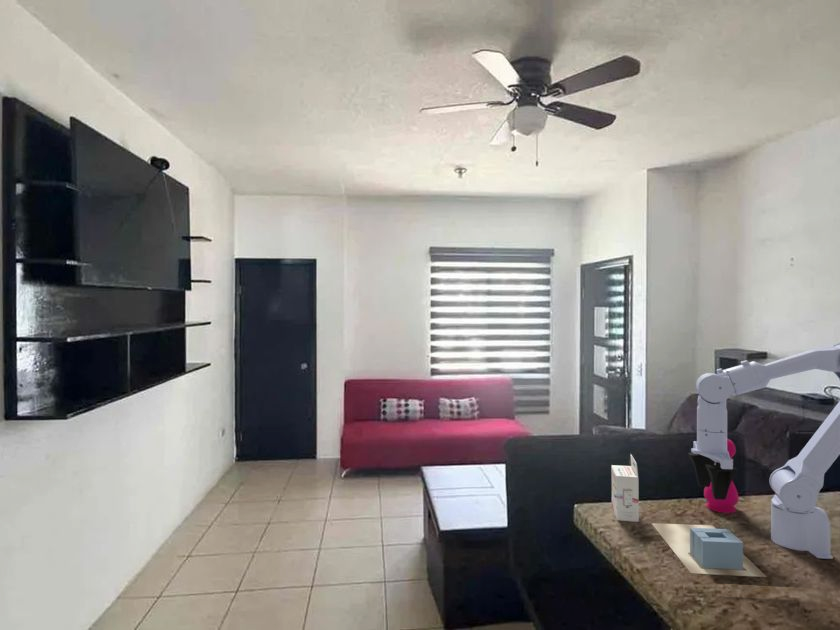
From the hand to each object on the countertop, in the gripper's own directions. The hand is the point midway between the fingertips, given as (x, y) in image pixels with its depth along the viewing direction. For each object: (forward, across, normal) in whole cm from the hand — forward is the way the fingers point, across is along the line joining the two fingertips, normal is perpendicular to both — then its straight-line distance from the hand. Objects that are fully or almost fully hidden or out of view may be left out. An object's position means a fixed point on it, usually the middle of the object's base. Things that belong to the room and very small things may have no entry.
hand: (711, 492), depth 113 cm
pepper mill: (+10, -14, +8) cm, 19 cm away
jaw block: (+8, +14, -5) cm, 17 cm away
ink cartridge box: (+10, -8, -16) cm, 21 cm away
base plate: (+10, +8, -5) cm, 14 cm away
